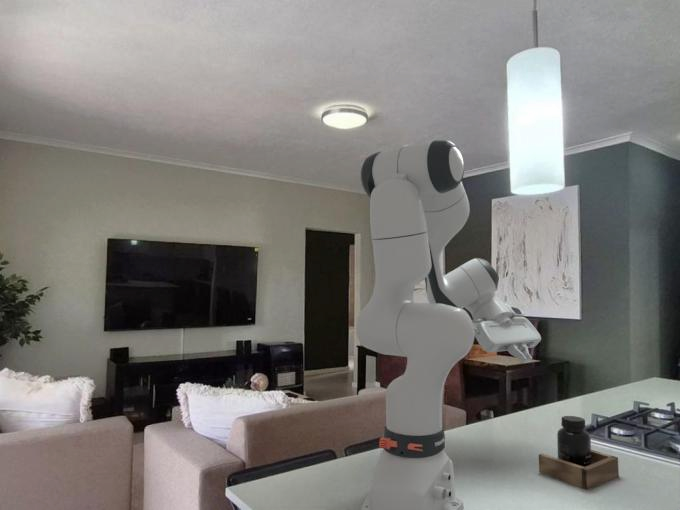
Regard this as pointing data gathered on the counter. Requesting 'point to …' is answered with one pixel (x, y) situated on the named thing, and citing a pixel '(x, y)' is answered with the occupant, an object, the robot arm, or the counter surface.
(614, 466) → the walnut holder
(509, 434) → the counter surface
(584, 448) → the supplement bottle
